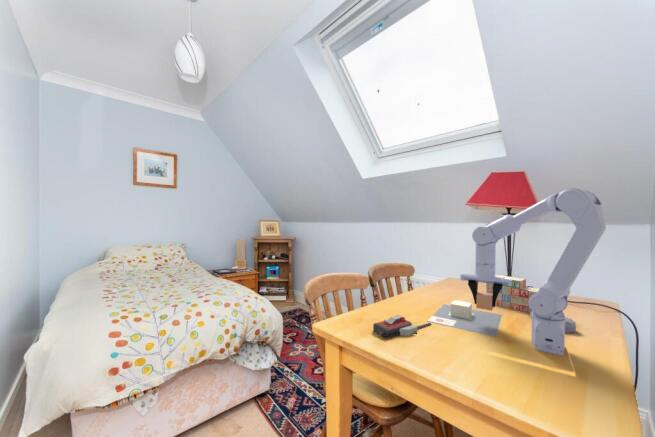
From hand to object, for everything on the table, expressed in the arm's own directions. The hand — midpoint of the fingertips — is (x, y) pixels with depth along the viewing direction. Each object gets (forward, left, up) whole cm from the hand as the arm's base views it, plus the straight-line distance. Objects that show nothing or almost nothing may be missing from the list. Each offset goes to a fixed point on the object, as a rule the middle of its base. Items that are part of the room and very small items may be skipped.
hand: (484, 304), depth 91 cm
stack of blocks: (+29, -9, -8) cm, 31 cm away
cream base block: (+6, +8, -7) cm, 12 cm away
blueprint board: (+3, +6, -7) cm, 10 cm away
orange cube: (0, 0, -1) cm, 1 cm away
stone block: (+16, -18, -8) cm, 25 cm away
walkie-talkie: (-19, +21, -8) cm, 29 cm away
